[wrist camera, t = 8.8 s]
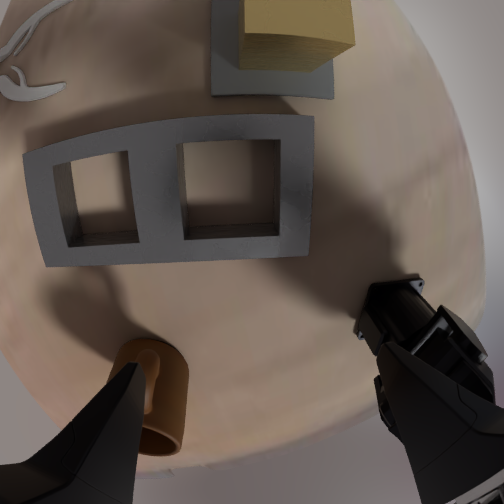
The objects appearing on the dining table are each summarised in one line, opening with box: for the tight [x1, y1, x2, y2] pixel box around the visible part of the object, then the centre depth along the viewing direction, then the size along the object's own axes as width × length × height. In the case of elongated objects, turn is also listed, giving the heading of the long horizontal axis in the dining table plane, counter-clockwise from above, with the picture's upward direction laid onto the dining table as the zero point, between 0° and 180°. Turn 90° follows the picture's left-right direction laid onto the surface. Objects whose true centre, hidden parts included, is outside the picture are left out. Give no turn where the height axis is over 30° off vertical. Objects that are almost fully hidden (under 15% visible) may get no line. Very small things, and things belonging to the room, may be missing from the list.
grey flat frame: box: [22, 114, 314, 267], centre depth 16 cm, size 20×9×2 cm, turn 91°
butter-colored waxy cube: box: [238, 0, 355, 73], centre depth 10 cm, size 5×5×7 cm
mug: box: [106, 339, 189, 456], centre depth 20 cm, size 12×8×9 cm, turn 161°
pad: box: [211, 0, 334, 100], centre depth 13 cm, size 8×8×1 cm
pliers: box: [0, 0, 73, 101], centre depth 10 cm, size 10×2×15 cm
